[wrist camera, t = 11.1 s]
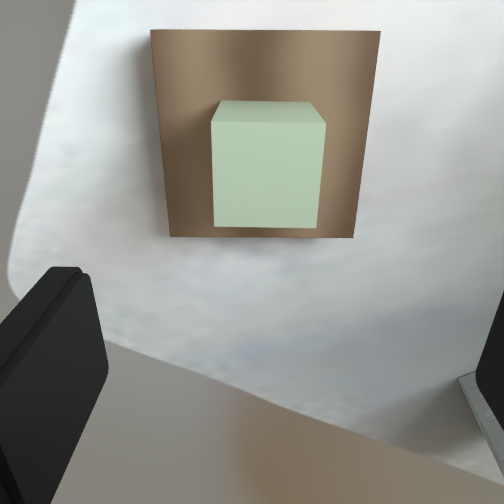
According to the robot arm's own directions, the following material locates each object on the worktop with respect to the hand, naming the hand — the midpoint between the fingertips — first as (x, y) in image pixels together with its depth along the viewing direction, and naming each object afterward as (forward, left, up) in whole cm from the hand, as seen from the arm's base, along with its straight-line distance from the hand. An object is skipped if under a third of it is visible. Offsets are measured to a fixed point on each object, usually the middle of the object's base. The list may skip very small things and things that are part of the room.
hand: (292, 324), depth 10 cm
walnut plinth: (0, 0, -20) cm, 20 cm away
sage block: (0, 0, -17) cm, 17 cm away
